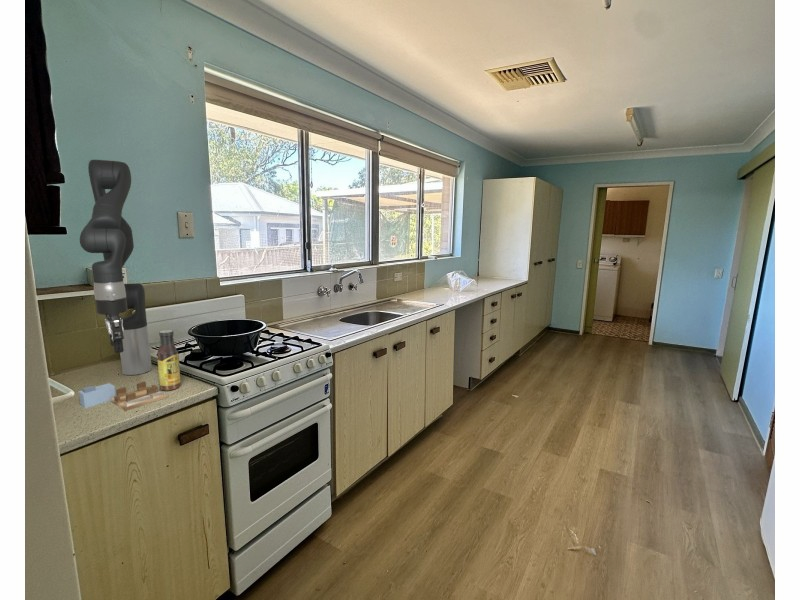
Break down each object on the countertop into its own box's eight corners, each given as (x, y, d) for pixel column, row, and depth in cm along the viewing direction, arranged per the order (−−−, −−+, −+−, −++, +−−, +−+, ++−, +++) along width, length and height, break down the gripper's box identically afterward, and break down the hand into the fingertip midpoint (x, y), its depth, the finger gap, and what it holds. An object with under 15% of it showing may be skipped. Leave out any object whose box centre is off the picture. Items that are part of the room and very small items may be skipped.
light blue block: (80, 405, 119) (78, 388, 118) (111, 396, 125) (109, 380, 124) (85, 408, 117) (82, 391, 116) (116, 399, 123) (114, 383, 122)
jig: (110, 401, 121) (109, 390, 121) (150, 389, 131) (149, 379, 130) (125, 411, 115) (123, 400, 115) (166, 397, 125) (165, 387, 124)
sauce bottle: (171, 392, 128) (165, 334, 125) (155, 390, 130) (149, 333, 126) (185, 384, 135) (180, 329, 131) (170, 383, 136) (164, 328, 132)
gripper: (92, 294, 118) (99, 345, 121) (97, 302, 107) (104, 357, 111) (122, 292, 123) (128, 341, 126) (129, 299, 112) (135, 352, 116)
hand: (117, 348), depth 118 cm, fingers open, 8 cm apart
